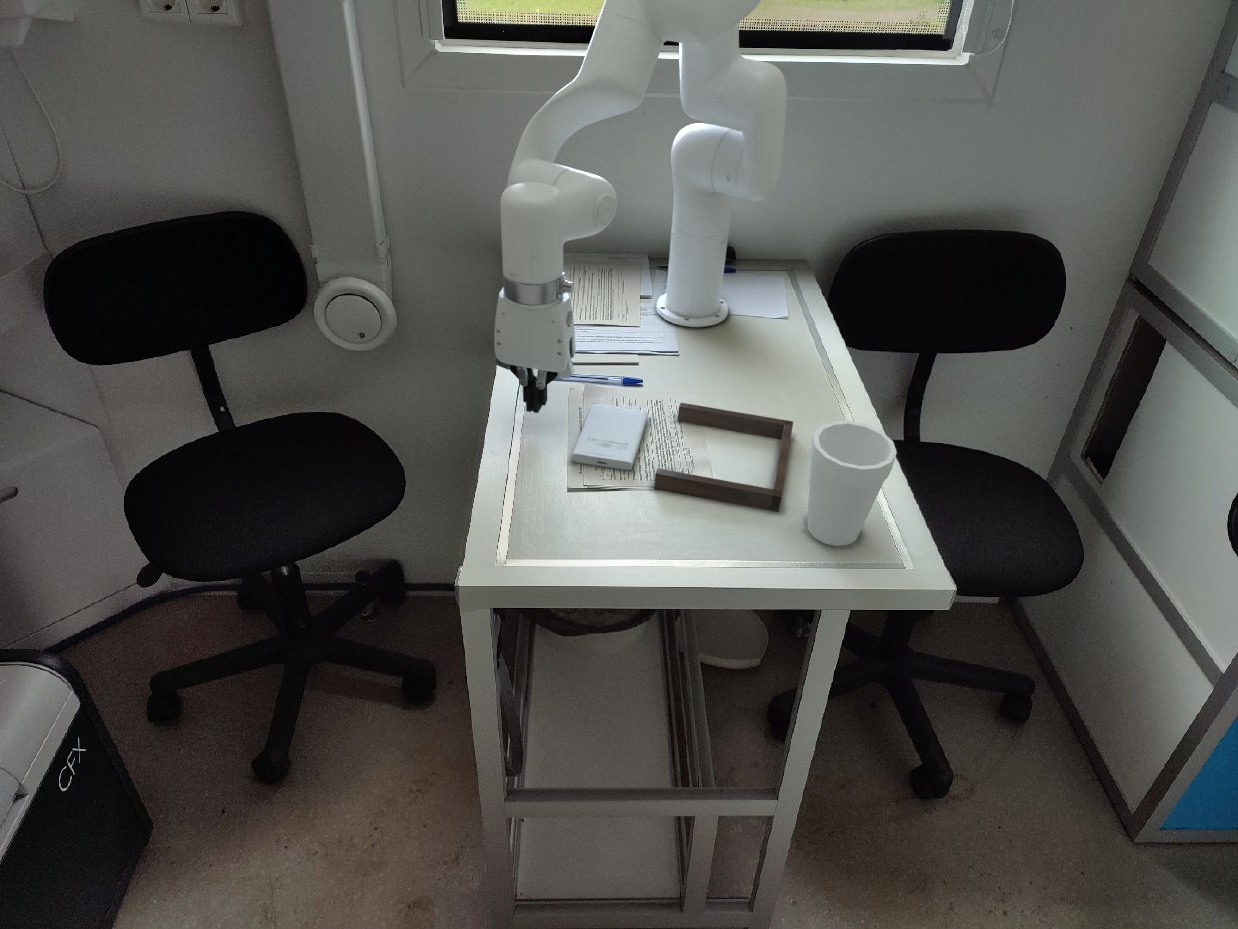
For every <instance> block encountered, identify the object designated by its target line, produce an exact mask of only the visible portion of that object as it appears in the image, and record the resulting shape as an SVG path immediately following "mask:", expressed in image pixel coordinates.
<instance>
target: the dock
mask: <svg viewBox="0 0 1238 929" xmlns="http://www.w3.org/2000/svg"><path fill="white" fill-rule="evenodd" d="M677 422H681V423H688V424H693V425H700V426H706V427H710V428H718V429H721V430H728V431H734V432H741V433H746V434H752V435H757V436H763V437H768V438H769V437H770V438H776V439H780V444H779V450H778V457H777V463H776V469H775V474H774V481H773V488H767V487H763V486H757V485H753V484H752V485H751V484H746V483H741V482H736V481H730V480H724V479H718V478H713V477H708V476H702V475H697V474H692V473H685V472H681V471H676V470H675V471H674V470H669V469H663V468H658V467H657V468H656V470H655V473H654V485H653V486H654V487H653V489H654V490H660V491H666V492H671V493H676V494H681V495H688V496H693V497H698V498H703V499H709V500H714V501H719V502H725V503H729V504H735V505H740V506H746V507H750V508H751V507H752V508H756V509H761V510H768V511H773V512H780V509H781V505H782V504H781V503H782V498H783V492H784V486H785V480H786V472H787V466H788V460H789V452H790V447H791V440H792V434H793V433H792V432H793V427H794V421H792V420H789V419H788V420H787V419H782V418H781V419H780V418H775V417H769V416H764V415H763V416H762V415H757V414H753V413H745V412H741V411H740V412H739V411H733V410H727V409H721V408H717V407H709V406H705V405H704V406H703V405H697V404H692V403H687V402H679V405H678V413H677Z"/></svg>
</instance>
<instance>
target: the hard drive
mask: <svg viewBox="0 0 1238 929" xmlns="http://www.w3.org/2000/svg"><path fill="white" fill-rule="evenodd" d="M648 418H649V412H648V411H647V410H641V409H635V408H630V407H629V408H628V407H623V406H622V407H621V406H616V405H608V404H602V403H593V404H592V405H591V407H590V409H589V412H588V415H587V416H586V420H585V422H584V425H583V427H582V430H581V432H580V434H579V436H578V439H577V441H576V444H575V447H574V449H573V451H572V454H571V461H572V462H573V463H576V464H583V465H589V466H595V467H602V468H609V469H616V470H622V471H632V470H633V467H634V464H635V460H636V458H637V455H638V450H639V447H640V444H641V441H642V437H643V434H644V431H645V428H646V424H647V421H648Z"/></svg>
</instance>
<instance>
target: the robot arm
mask: <svg viewBox="0 0 1238 929" xmlns="http://www.w3.org/2000/svg"><path fill="white" fill-rule="evenodd" d="M761 1H762V0H604V2H603V5H602V7H601V10H600V13H599V16H598V19H597V21H596V24H595V28H594V30H593V33H592V36H591V39H590V41H589V45H588V47H587V49H586V52H585V55H584V58H583V61H582V64H581V67H580V69H579V71H578V74H576V76H575V78H573V79H572V81H570V82H569V83H568V84H566V85H565V86H563V87H562V88H560V90H558V91H557V92H556V93H555V94H554V95H552V96H551V97H550V98H549V99H548V100H547V101H546V102H545V103H544V105H542V106H541V107H540V108H539V109H538V111H537V112H536V113H534V114H533V116H532V117H531V119H530V120H529V121H528V123H527V125H526V126H525V128H524V130H523V132H522V134H521V136H520V139H519V142H518V145H517V148H516V151H515V154H514V156H513V159H512V161H511V162H512V163H511V165H510V168H509V173H508V178H507V183H506V188H505V189H504V190H503V192H502V193H501V195H500V202H499V211H500V236H501V258H502V259H501V260H502V284H503V286H502V288H501V289H500V291H499V293H498V297H497V298H498V299H497V303H496V311H495V319H494V320H495V321H494V335H493V336H494V339H493V340H494V343H493V345H494V355H495V365H496V366H498V367H499V368H503V369H505V370H507V371H510V372H511V373H512V374H513V375H514V376H515V377H516V378H517V380H518V383H519V385H520V386H522V402H523V403H525V410H526V412H528V413H531V412H532V413H533V414H538V413H539V412H540V410H542V407H544V406H546V404H547V402H548V385H549V384H550V383H552V382H553V381H555V379H571V378H572V376H573V375H574V373H575V368H574V363H573V360H572V359H574V358H575V355H576V346H577V345H576V328H575V318H574V311H573V310H574V309H573V305H572V299H571V296H570V294H574V289H575V282H573V281H569V280H567V278H566V272H564V246H565V245H564V244H565V243H567V242H569V241H574V240H578V239H579V240H580V239H584V238H588V237H589V238H590V237H593V236H595V235H597V234H599V233H600V232H602V231H603V230H605V229H606V228H607V227H608V226H609V225H610V224H611V223H612V221H613V219H614V217H615V215H616V213H617V208H618V196H617V192H616V190H615V188H614V187H613V185H612V184H611V183H610V182H609V181H608V180H607V179H606V178H603V177H601V176H600V175H597V174H594V173H590V172H586V171H583V170H580V169H577V168H573V167H569V166H566V165H562V164H560V163H559V164H558V163H555V160H556V157H557V156H558V153H559V151H561V148H562V147H563V145H564V144H565V143H566V142H567V140H568V139H569V138H570V137H571V136H572V135H574V134H575V133H577V132H578V131H579V130H581V129H583V128H584V127H586V126H589V125H591V124H593V123H596V122H599V121H602V120H605V119H609V118H612V117H616V116H619V115H623V114H625V113H626V114H627V113H629V112H632V111H633V110H636V109H637V108H639V106H640V105H641V104H642V102H643V100H644V98H645V95H646V91H647V89H648V87H649V84H650V81H651V78H652V75H653V73H654V71H655V70H654V69H655V67H656V64H657V62H658V59H659V56H660V53H661V51H662V48H663V46H664V43H666V42H673V43H674V42H675V43H678V44H679V46H678V47H679V54H678V55H679V95H680V103H681V104H680V105H681V107H682V110H683V112H684V113H685V115H687V116H688V117H689V118H692V119H694V120H697V121H700V122H701V123H698V122H697V123H691V124H688V125H686V126H684V127H683V128H681V129H680V130H679V131H678V133H677V134H676V136H675V137H674V140H673V142H672V145H671V151H670V167H671V176H672V185H673V187H672V188H673V204H672V205H673V206H672V218H671V219H672V220H671V230H670V231H671V232H670V244H669V256H668V267H667V281H666V292H665V293H664V294H662V295H660V296H659V298H658V299H657V300H656V306H655V307H656V313H657V314H658V315H659V316H660V317H661V318H662V319H664V320H665V321H666V322H667V321H668V322H669V323H672V324H674V325H677V326H682V327H687V328H688V327H689V328H705V327H707V328H708V327H712V326H715V325H717V324H720V323H721V322H723V321H724V320H726V318H727V317H728V315H729V306H728V303H727V302H726V301H725V300H724V299H723V298H721V297H722V290H723V281H724V273H725V265H726V257H727V248H728V242H729V233H730V226H731V211H730V210H731V209H730V205H729V202H728V198H727V197H726V196H729V197H733V198H737V199H740V200H744V201H749V202H750V201H751V202H763V201H764V200H767V199H768V198H769V197H771V196H772V195H773V193H774V192H775V190H776V189H777V186H778V184H779V181H780V177H781V173H782V167H783V166H782V165H783V158H784V157H783V156H784V144H785V133H786V132H785V131H786V121H787V120H786V119H787V107H788V106H787V105H788V86H787V82H786V79H785V76H784V74H783V72H782V71H781V69H779V67H777V66H776V65H774V64H772V63H771V62H766V61H762V60H756V59H751V58H746V57H744V56H742V54H741V52H740V34H739V33H740V22H741V21H742V20H744V19H745V18H746V17H747V16H749V15H750V14H751V13H752V12H754V10H755V9H756V8H757V7H758V6H759V5H760V3H761ZM569 293H570V294H569ZM535 370H537V375H536V376H535Z"/></svg>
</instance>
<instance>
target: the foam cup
mask: <svg viewBox="0 0 1238 929" xmlns="http://www.w3.org/2000/svg"><path fill="white" fill-rule="evenodd" d="M897 454H898V452H897V448H896V446H895V443H894V441H893V440H892V439H891V438H890V437H889V436H888V435H886V434H885V432H883V431H882V430H881V429H878V428H875V427H873V426H872V425H869V424H866V423H863V422H856V421H852V420H839V421H838V420H837V421H830V422H828V423H825V424H824V425H821V426H819V427H818V428H817V430H816V431H815V432H814V434H813V435H812V439H811V444H810V448H809V458H810V464H809V465H810V468H809V480H808V481H809V483H808V498H807V499H808V500H807V516H806V520H807V521H806V524H807V525H806V526H807V530H808V532H809V533H810V534H811V536H812V537H813V538H814V539H816V540H817V541H819V542H821V543H823V544H824V545H825V544H826V545H829V546H834V547H840V546H842V547H843V546H849V545H851V544H853V543H855V542H856V540H857V539H858V537H859V534H860V533H861V530H862V529H863V526H864V524H865V523H866V520H867V519H868V516H869V513H870V511H871V509H872V508H873V506H874V504H875V502H876V499H877V497H878V495H879V494H880V491H881V488H882V487H883V484H884V482H885V481H886V480H887V479H888V478H889V476H890V474H891V471H892V470H893V467H894V463H895V460H896V456H897Z"/></svg>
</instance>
